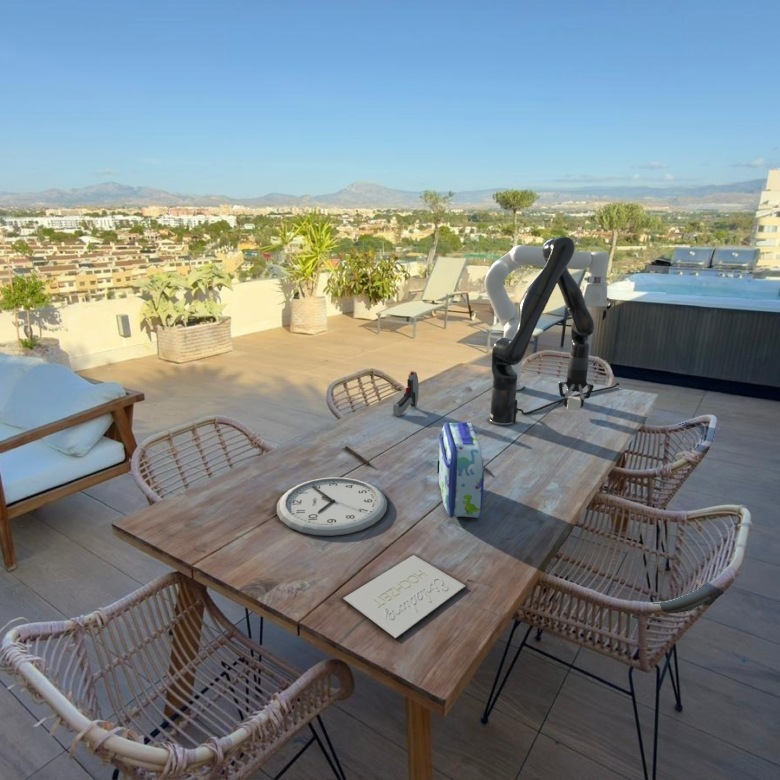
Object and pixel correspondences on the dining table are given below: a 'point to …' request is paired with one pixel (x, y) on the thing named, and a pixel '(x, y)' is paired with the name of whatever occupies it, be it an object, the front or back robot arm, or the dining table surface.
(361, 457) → the brown thin rod
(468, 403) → the dining table surface
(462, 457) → the lunch box
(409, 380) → the toy gun
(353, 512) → the wall clock
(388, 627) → the invitation card
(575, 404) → the block
